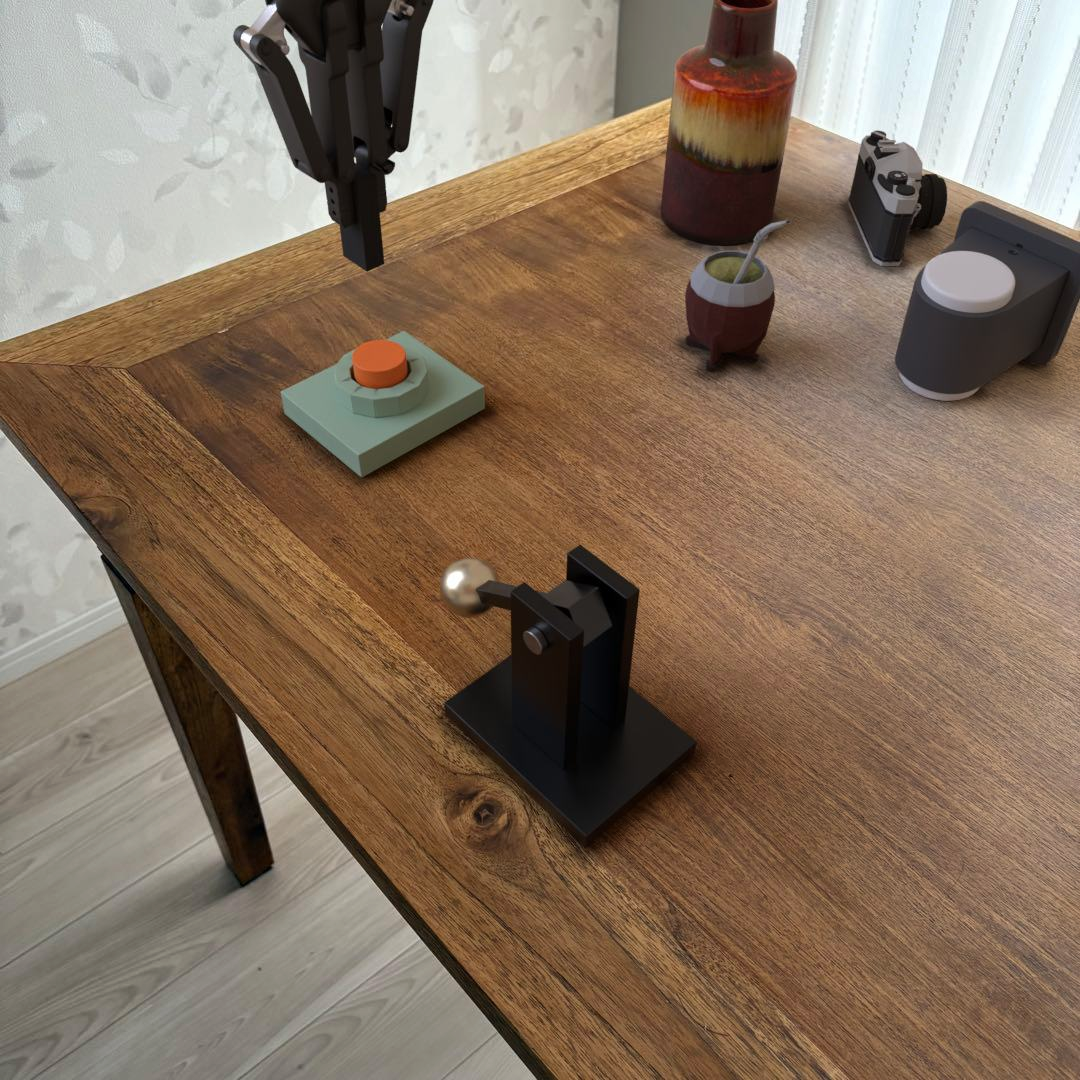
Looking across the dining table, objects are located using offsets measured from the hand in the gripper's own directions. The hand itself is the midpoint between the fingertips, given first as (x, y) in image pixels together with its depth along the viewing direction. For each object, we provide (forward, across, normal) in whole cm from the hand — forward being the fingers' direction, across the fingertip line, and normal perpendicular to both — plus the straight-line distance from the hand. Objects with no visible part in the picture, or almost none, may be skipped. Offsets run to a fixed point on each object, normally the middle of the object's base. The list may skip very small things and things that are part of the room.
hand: (363, 259), depth 76 cm
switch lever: (+7, +10, +27) cm, 30 cm away
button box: (+14, -1, 0) cm, 14 cm away
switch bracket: (+14, +10, +31) cm, 35 cm away
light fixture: (+14, -39, +26) cm, 49 cm away
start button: (+10, -1, 0) cm, 10 cm away
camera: (+14, -54, +11) cm, 56 cm away
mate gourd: (+14, -26, +13) cm, 32 cm away
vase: (+14, -43, -2) cm, 45 cm away
